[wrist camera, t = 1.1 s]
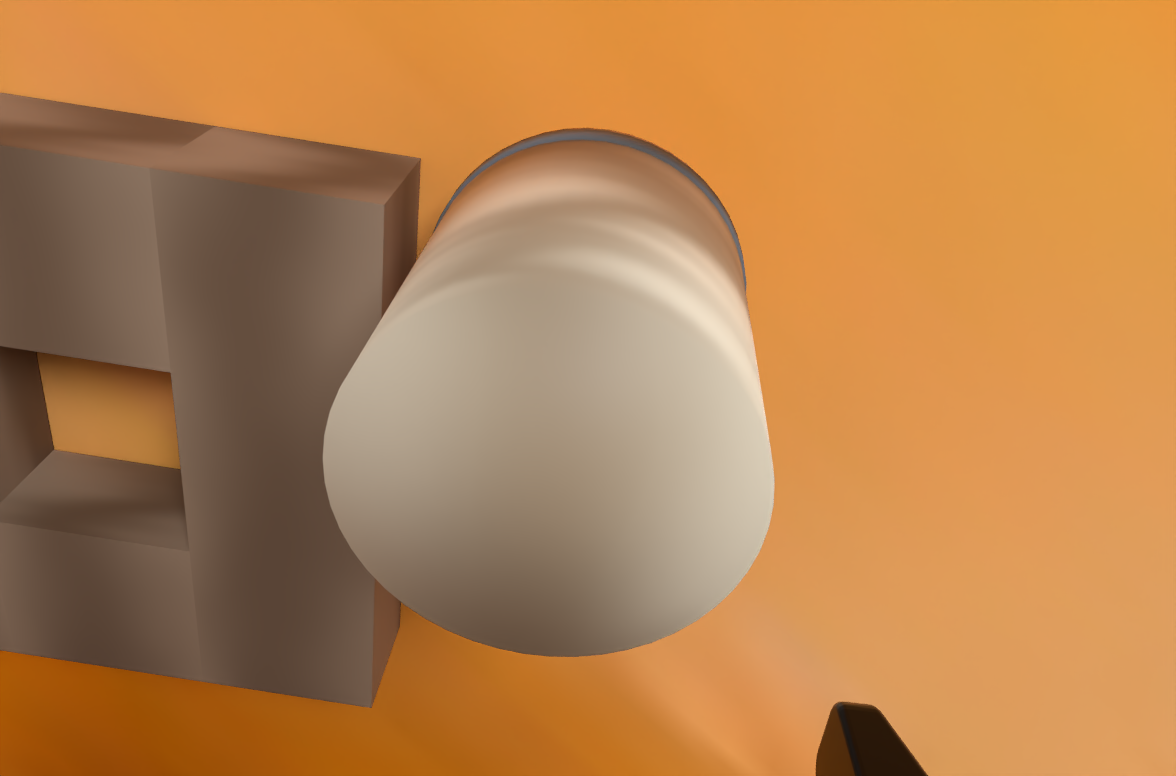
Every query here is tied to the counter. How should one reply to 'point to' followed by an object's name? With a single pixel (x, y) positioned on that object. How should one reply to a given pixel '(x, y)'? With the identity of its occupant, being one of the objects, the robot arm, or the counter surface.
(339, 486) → the beech leg
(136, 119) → the socket board
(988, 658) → the counter surface
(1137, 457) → the counter surface
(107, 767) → the counter surface
